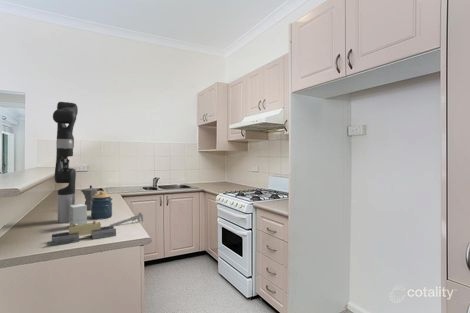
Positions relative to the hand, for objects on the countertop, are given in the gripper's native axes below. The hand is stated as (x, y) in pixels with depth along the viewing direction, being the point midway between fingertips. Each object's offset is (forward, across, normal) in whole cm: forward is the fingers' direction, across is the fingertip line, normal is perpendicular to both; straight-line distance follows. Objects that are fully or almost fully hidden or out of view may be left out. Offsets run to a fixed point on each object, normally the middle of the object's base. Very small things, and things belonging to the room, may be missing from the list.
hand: (64, 177), depth 143 cm
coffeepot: (+30, -55, +20) cm, 66 cm away
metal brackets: (+30, +16, +8) cm, 35 cm away
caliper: (+31, 0, +32) cm, 44 cm away
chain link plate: (+28, +16, +8) cm, 33 cm away
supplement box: (+30, -9, +7) cm, 32 cm away
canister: (+30, -26, +22) cm, 46 cm away
